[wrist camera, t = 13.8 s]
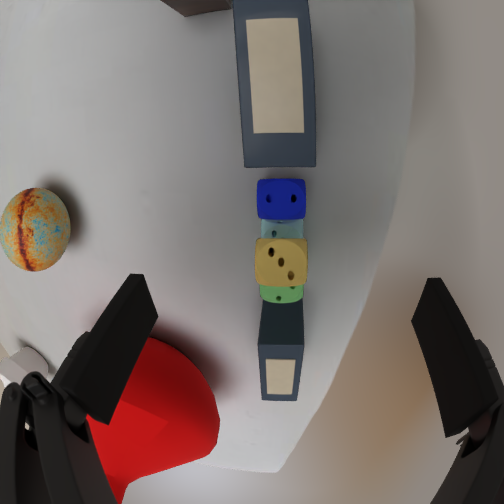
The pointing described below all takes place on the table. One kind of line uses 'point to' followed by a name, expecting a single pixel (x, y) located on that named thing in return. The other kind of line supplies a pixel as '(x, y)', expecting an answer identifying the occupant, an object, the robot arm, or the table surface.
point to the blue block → (277, 149)
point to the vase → (157, 419)
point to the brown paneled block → (197, 6)
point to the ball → (35, 229)
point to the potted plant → (22, 366)
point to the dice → (281, 240)
